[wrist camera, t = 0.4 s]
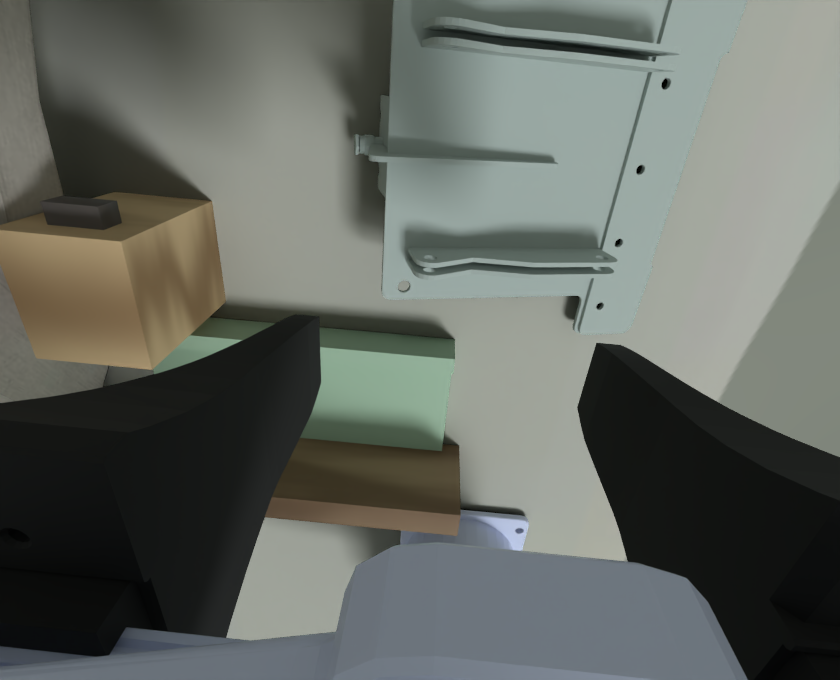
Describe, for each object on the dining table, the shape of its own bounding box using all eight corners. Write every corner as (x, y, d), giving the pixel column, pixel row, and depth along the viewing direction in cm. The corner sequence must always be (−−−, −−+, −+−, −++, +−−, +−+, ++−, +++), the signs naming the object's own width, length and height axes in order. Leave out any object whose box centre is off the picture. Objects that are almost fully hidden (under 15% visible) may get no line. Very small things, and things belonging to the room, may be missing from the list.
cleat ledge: (442, 444, 26) (441, 468, 25) (172, 418, 27) (153, 441, 25) (454, 339, 23) (454, 359, 21) (146, 311, 23) (122, 329, 22)
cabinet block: (226, 301, 23) (152, 369, 17) (138, 293, 23) (36, 358, 17) (209, 182, 20) (114, 217, 14) (110, 173, 20) (-23, 204, 15)
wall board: (456, 464, 27) (457, 535, 23) (161, 436, 28) (106, 501, 23) (459, 445, 26) (460, 515, 22) (155, 417, 27) (98, 480, 22)
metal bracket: (365, 365, 18) (378, -180, 11) (351, 303, 23) (353, -98, 15) (673, 348, 21) (843, -75, 14) (602, 297, 26) (701, -35, 19)
